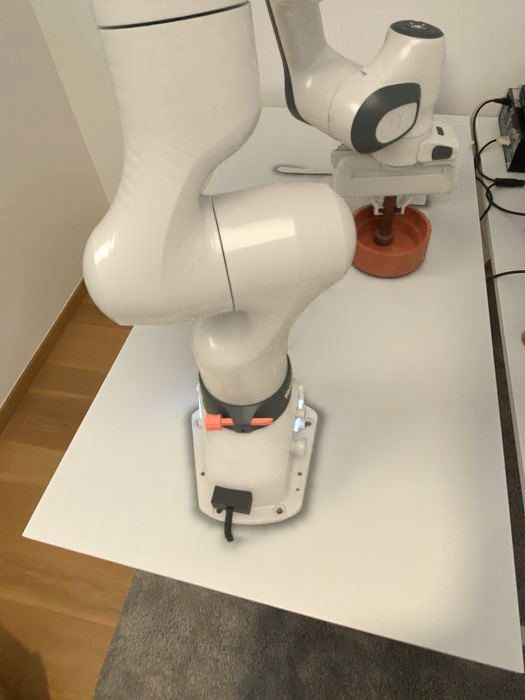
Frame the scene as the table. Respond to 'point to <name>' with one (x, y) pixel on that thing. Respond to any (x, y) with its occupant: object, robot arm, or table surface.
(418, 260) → the bowl
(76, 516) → the table surface
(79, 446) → the table surface
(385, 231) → the masher
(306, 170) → the fork
